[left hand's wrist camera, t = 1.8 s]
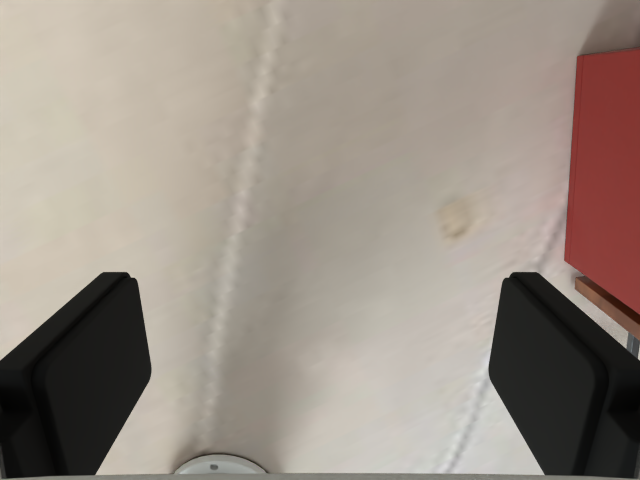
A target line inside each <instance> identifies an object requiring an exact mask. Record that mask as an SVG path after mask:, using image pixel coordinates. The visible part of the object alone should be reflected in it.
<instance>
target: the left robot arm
mask: <svg viewBox="0 0 640 480" xmlns="http://www.w3.org/2000/svg"><path fill="white" fill-rule="evenodd" d="M150 377H151V361H150V355H149V349H148V343H147V337H146V331H145V324H144V318H143V312H142V306H141V300H140V293H139V287H138V282H137V280H136V279H135V278H131V277H130V275H129V274H128V273H127V272H103V273H101V274H100V275H99V276H98V277H97V278H95V279H94V280H93V281H92V282H91V283H90V284H88V285H87V286H86V287H85V288H84V289H83V290H81V291H80V292H79V293H78V294H77V295H76V296H75V297H73V298H72V299H71V300H70V301H69V302H68V303H66V304H65V305H64V306H63V307H62V308H61V309H59V310H58V311H57V312H56V313H55V314H54V315H53V316H51V317H50V318H49V319H48V320H47V321H46V322H44V323H43V324H42V325H41V326H40V327H39V328H38V329H36V330H35V331H34V332H33V333H32V334H31V335H29V336H28V337H27V338H26V339H25V340H24V341H22V342H21V343H20V344H19V345H18V346H17V347H16V348H14V349H13V350H12V351H11V352H10V353H9V354H7V355H6V356H5V357H4V358H3V359H2V360H1V361H0V480H640V361H639V360H638V359H637V358H636V357H635V356H634V355H633V354H631V353H630V352H629V351H628V350H627V349H626V348H624V347H623V346H622V345H621V344H620V343H619V342H618V341H616V340H615V339H614V338H613V337H612V336H611V335H609V334H608V333H607V332H606V331H605V330H604V329H602V328H601V327H600V326H599V325H598V324H597V323H596V322H594V321H593V320H592V319H591V318H590V317H589V316H587V315H586V314H585V313H584V312H583V311H582V310H581V309H579V308H578V307H577V306H576V305H575V304H574V303H572V302H571V301H570V300H569V299H568V298H567V297H565V296H564V295H563V294H562V293H561V292H560V291H559V290H557V289H556V288H555V287H554V286H553V285H552V284H550V283H549V282H548V281H547V280H546V279H545V278H543V277H542V276H541V275H540V274H539V273H537V272H513V273H512V274H511V275H510V277H509V278H505V279H504V280H503V282H502V287H501V293H500V300H499V306H498V312H497V318H496V324H495V331H494V337H493V343H492V349H491V355H490V361H489V377H490V380H491V382H492V384H493V386H494V387H495V389H496V391H497V393H498V394H499V396H500V398H501V400H502V401H503V403H504V405H505V406H506V408H507V410H508V412H509V413H510V415H511V417H512V419H513V420H514V422H515V424H516V426H517V427H518V429H519V431H520V433H521V434H522V436H523V438H524V439H525V441H526V443H527V445H528V446H529V448H530V450H531V452H532V453H533V455H534V457H535V459H536V460H537V462H538V464H539V466H540V467H541V469H542V471H543V472H544V474H545V475H502V474H387V473H266V472H265V471H264V470H263V469H262V468H260V467H259V466H257V465H256V464H254V463H252V462H250V461H248V460H246V459H243V458H239V457H236V456H230V455H208V456H201V457H198V458H195V459H192V460H190V461H189V462H187V463H185V464H183V465H182V466H181V467H180V468H178V469H177V470H176V471H175V473H174V474H138V475H95V474H96V472H97V471H98V469H99V467H100V466H101V464H102V462H103V460H104V459H105V457H106V455H107V453H108V452H109V450H110V448H111V446H112V445H113V443H114V441H115V439H116V438H117V436H118V434H119V433H120V431H121V429H122V427H123V426H124V424H125V422H126V420H127V419H128V417H129V415H130V413H131V412H132V410H133V408H134V406H135V405H136V403H137V401H138V400H139V398H140V396H141V394H142V393H143V391H144V389H145V387H146V386H147V384H148V382H149V380H150Z"/></svg>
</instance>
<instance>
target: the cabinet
mask: <svg viewBox="0 0 640 480" xmlns="http://www.w3.org/2000/svg"><path fill="white" fill-rule="evenodd" d="M564 260H565V261H566V262H567V263H568V264H570V265H571V266H573V267H574V268H576V269H577V270H578V271H580V272H581V273H583V274H584V275H585V276H587V277H588V278H590V279H591V280H592V281H594V282H595V283H597V284H598V285H599V286H601V287H602V288H603V289H605V290H606V291H608V292H609V293H610V294H612V295H613V296H615V297H616V298H617V299H619V300H620V301H622V302H623V303H624V304H626V305H627V306H629V307H630V308H631V309H633V310H634V311H636V312H637V313H638V314H640V47H636V48H629V49H622V50H615V51H608V52H601V53H594V54H587V55H580V56H578V57H577V71H576V86H575V102H574V118H573V133H572V149H571V165H570V180H569V196H568V212H567V227H566V243H565V259H564Z"/></svg>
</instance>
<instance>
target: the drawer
mask: <svg viewBox="0 0 640 480" xmlns="http://www.w3.org/2000/svg"><path fill="white" fill-rule="evenodd" d="M575 289H576V290H577V291H578V292H579V293H581V294H582V295H583V296H584V297H586V298H587V299H588V300H589V301H591V302H592V303H593V304H594V305H596V306H597V307H598V308H599V309H601V310H602V311H603V312H604V313H606V314H607V315H608V316H609V317H611V318H612V319H613V320H614V321H616V322H617V323H618V324H619V325H621V326H622V327H623V328H624V329H626V330H627V331H628V332H629V333H628V341H627V348H626V349H627V350H628V351H629V352H630V353H631V354H633V355H634V356H635V357H636V358H637V359H638V352H639V345H640V314H638V313H637V312H636V311H634V310H633V309H631V308H630V307H629V306H627V305H626V304H624V303H623V302H622V301H620V300H619V299H617V298H616V297H615V296H613V295H612V294H610V293H609V292H608V291H606V290H605V289H603V288H602V287H601V286H599V285H598V284H597V283H595V282H594V281H592V280H591V279H590V278H588V277H587V276H583V277H576V281H575Z"/></svg>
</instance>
